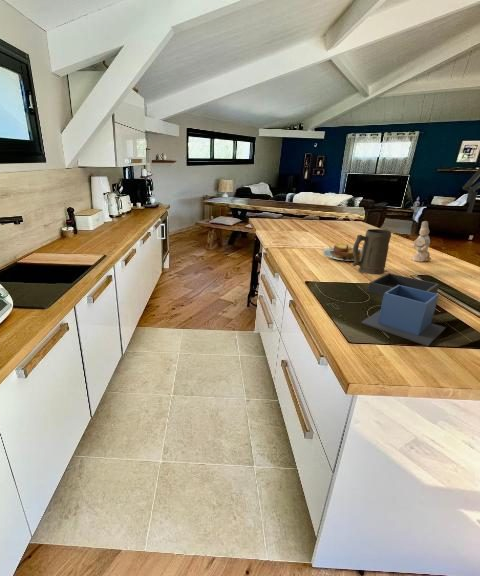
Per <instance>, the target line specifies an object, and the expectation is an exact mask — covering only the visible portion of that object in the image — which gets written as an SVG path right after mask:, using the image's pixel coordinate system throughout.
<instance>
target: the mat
mask: <svg viewBox="0 0 480 576" xmlns="http://www.w3.org/2000/svg"><path fill="white" fill-rule="evenodd" d="M380 310H381V309H379V310H377V311H375V313H373V314H371V315H370V316H368V317H367V318H365V319H363V320H362V321H361V322H360V324H361V325H363V326H367V327H370V328H373V329H375V330H380V331H382V332H385V333H387V334H390V335H393V336H396V337H399V338H402V339H405V340H407V341H411V342H413V343H417V344H419V345H423V346H426V347H429V346H430V345H431V344H432V343H433V342H434V341H435V340H436V339H437V338H438V337H439V336H440V335H441V334H442V333H443V332H444V331H445V330H446V329H447V328H448V327H447V326H444V325H441V324H439V323H438V324H437V323H434V322H431V324H430V325H429V326H428V327H427V328H426V329H425V330H424V331H423V332H422V333H420V334H419V335H415V334H412V333H409V332H406V331H403V330H399V329H396V328H393V327H390V326H387V325H384V324H381V323H378V319H379V315H380Z"/></svg>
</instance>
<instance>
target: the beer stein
mask: <svg viewBox="0 0 480 576" xmlns="http://www.w3.org/2000/svg"><path fill="white" fill-rule="evenodd" d="M391 237H392V231H391V230H388V229H382V228H371V229H367V230H366V232H365V235H362V234H357V235H356V239H355V242H354V244H353V246H352V247H353V255H354V259H355V261H353V263H352V266H353V267H356V266H359V267H358V269H357V271H358V272H359V274H367V275H368V274H369V275H383V274H385V268H386V263H387V258H388V253H389V248H390V247H389V245H390V241H391ZM362 241H364V242H363V244H362V248H361V249H362V253H361V257H360V260H359V258H358V248H360V243H361V242H362Z"/></svg>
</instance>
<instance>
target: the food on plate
mask: <svg viewBox="0 0 480 576" xmlns="http://www.w3.org/2000/svg"><path fill="white" fill-rule="evenodd" d="M361 253H362V248H361V247H358V258H359V261H360V257H361ZM322 254H323V255H324V256H325V257H327V258H329V259H334V260H339V261H345V262H346V261H347V262H351V261H353V262H354V261H355V259H354V255H353V246H349V245H348V244H346V243H336V244H334V246H333V247H329V248H325V249H323V250H322ZM330 256H332V257H330Z"/></svg>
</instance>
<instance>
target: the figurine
mask: <svg viewBox="0 0 480 576" xmlns="http://www.w3.org/2000/svg"><path fill="white" fill-rule="evenodd" d="M429 234H430V229H429V221H427V220H424V221H422V222H421V225H420V229H419V236H418V237H417V238H416V239H414V241H413V245H412V248H413V249H416V250H417V251H416V252H415V253H414V255H413V256H412V260H413V261H414V262H428V261H431V260H432V257H431V253H430V252H429V251H428V250H429V248H430V244H431V239H430V235H429Z"/></svg>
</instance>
